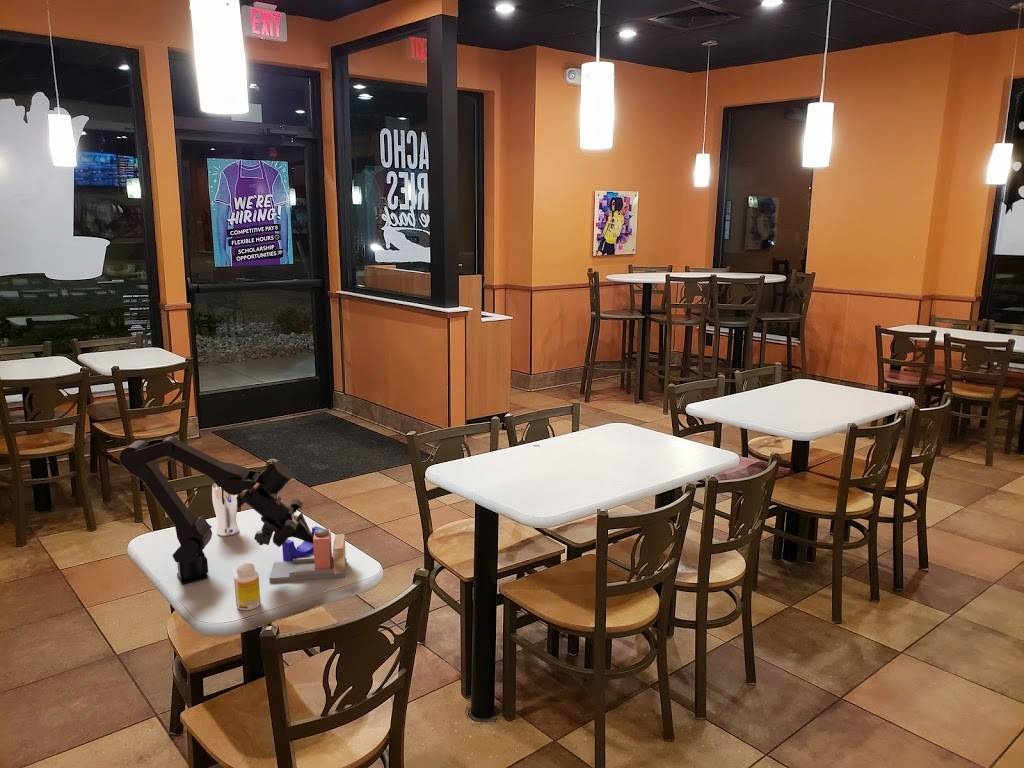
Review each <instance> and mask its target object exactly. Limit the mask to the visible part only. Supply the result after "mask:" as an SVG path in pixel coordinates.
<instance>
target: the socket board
mask: <svg viewBox="0 0 1024 768" xmlns="http://www.w3.org/2000/svg"><path fill="white" fill-rule="evenodd" d="M347 560H348V559H347V558H346V560H345V568H344V573H339V574H334V561H333V555H332V564H331V568H330V569H315V564H314V556H313V557H303V558H294V559H293V561H291V562H286V561H279V562H273V564H272V569H271V571H270V574H269V579H268V580H269V583H281V582H283V583H284V582H294V581H295V582H296V581H310V580H323V579H322V578H328V579H334V578H333V577H343V578H346V572H347V571H346V570H347V564H348V563H347ZM330 577H331V578H330Z"/></svg>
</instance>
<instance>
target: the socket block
mask: <svg viewBox="0 0 1024 768" xmlns="http://www.w3.org/2000/svg"><path fill="white" fill-rule="evenodd" d="M345 537H346V536H345V534H344V533H342V534H341V533H340V534H339V533H338V534H335V535H334V540H333V545H332V556H333V561H334V574H339V573H344V568H345V560H346V559H347V557H346V556H347V554H346V538H345Z"/></svg>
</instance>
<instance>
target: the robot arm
mask: <svg viewBox="0 0 1024 768" xmlns="http://www.w3.org/2000/svg"><path fill="white" fill-rule="evenodd" d="M164 457H169V458H171V459H173V460H175V461H176V462H179V463H180V464H183V465H185V466H186V467H188V468H190V469H193V470H195V471H197V472H199V473H201V474H202V475H204V476H206V477H208V478H210V479H211V480H212V481H213V482H214V483H216V485H217V486H218V487H220V488H221V489H222V490H224V491H225V492H227V493H228V494H230V495H238V496H237V498H236V499H237V509H240V508H241V507H242V506H243V505H244V504H246V505H247V506H249V507H250V508H251V509H252V510H254V511H255V512H256V513H258V514H259V515H260V516H261V517H260V519H261V520H260V521H261V522H262V523H263V525H262V526H261V530H257V531H255V532H256V533H255V535H254V537H253V539H254V540H255V542H256V543H258V545H259V546H263V545H267V546H269V545H270V543H271V538H272V543H273V544H274V545H275V546H277V547H278V548H280V547H281V546H282V544H283V543H284V542H285V541H286V540H287V539H288V540H289V538H295V539H298V540H301V541H306V542H309V543H313V538H314V537H313V535H312V530H310V528H309V526H308V525H309V524H308V523H307V521H306V519H305V517H304V513H303V512H300V513H299V515H297V514H295V513H296V512H297V511H298V510H299V509H302V508H303V506H304V503H303V502H302V501H301V500H299V499H292V501H290V502H289V504H285V503H283V502H282V497H280V496H277V497H276V496H275V495H274V494H279V493H280V492H281V491H282V490H283V489H284V488H285V486H287V485H288V484H289V482H291V481H292V479H294V474H293V472H292V471H291V469H290V468H289V467H288V466H286V465H284V464H282V463H280V462H276V461H275V460H272V461H270V462H269V464H268V465H267V467H266V468H264V470H262V471H261V470H253V469H248V468H247V467H244V466H242V465H240V464H236V463H234V462H226V461H221V460H218V459H217V458H215V457H213V456H210V455H209V454H208V453H206V452H203V451H201V450H199V449H198V448H195V447H193V446H191V445H189V444H188V443H185V442H183V441H181V440H180V439H179V438H178V437H176V436H172V435H171V436H167V437H165V438H157V439H152V440H141V439H139V440H136V441H134V442H132V443H130V445H128V446H127V447H125V448H124V449H122V450H121V451H120V454H119V458H118V460H119V463H120V465H122V467H123V468H124V469H125V470H126V471H127V472H128V473H129V474H130V475H132V476H133V477H135V478H137V479H140V480H141V481H142V483H144V485H145V486H146V488H147V489H148V491H150V493H151V495H152V496H153V498H154V499H155V500H156V501H157V503H158V504H159V506H160V507H161V509H162V510H163V511H164V513H165V514H166V515H167V516H166V517H168V518H169V519H170V521H171V523H172V524H173V525H174V528H175V532H176V537H177V541H178V543H179V544H180V545H179V547H178V548H177V549H176V550H175V551H174V553H173V554H172V556H171V557H172V558H173V560H174V562H175V563H176V564H177V573H176V576H177V578H178V580H179V581H180V583H181V585H185V584H186V585H187V584H189V583H194V582H198V581H201V580H205V579H208V578H209V574H208V573H209V564H208V558H207V556H206V554H205V552H204V551H203V550H204V549H205V548H206V546H207V545H208V544H209V543H210V541H211V539H212V538H213V532H212V530H211V529H212V525H210V524H209V523H208V521H207V520H206V518H205V516H204V515H203V514H201V516H199V517H198V516H196V515H194V514H192V512H190V510H189V509H188V507H187V506H186V504H185V503H184V501H183V500H182V499H181V497H180V496H179V494H178V493H177V492H176V490H175V489H174V487H173V486H172V485H171V483H170V482H169V480H168V479H167V477H166V476H165V475H164V474H163V472H162V471H161V468H160V465H159V460H158V459H160V458H164ZM244 491H245V492H244ZM243 492H244V493H243ZM242 493H243V494H242ZM273 533H274V534H273Z"/></svg>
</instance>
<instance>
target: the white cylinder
mask: <svg viewBox="0 0 1024 768" xmlns="http://www.w3.org/2000/svg"><path fill="white" fill-rule="evenodd" d="M211 489H212V490H211V496H212V497H211V500H212V505H213V506H212V507H213V510H214V513H215V515H216V521H217V528H216V534H217V535H218V536H219V535H220V536H219V537H230V536H229V535H231V536H234V535H236V534H238V533H239V527H238V521H237V516H238V514H237V513H238V508H237V499H236V498H237V496H238V495H239V494H237V495H230V494H228V493H227V492H225V491H224V490H222V489H221V488H220V487H218V486H217V485H216V483H215V482H214V483H213V484H212V485H211ZM237 532H238V533H237ZM235 533H236V534H235ZM233 534H234V535H233Z"/></svg>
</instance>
